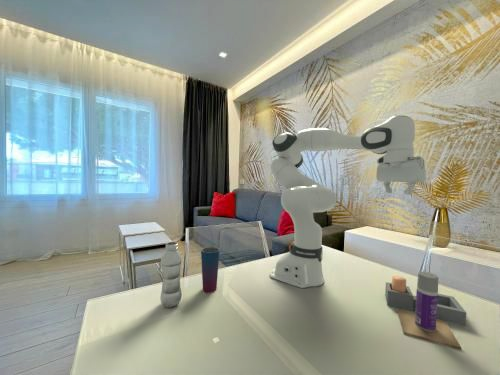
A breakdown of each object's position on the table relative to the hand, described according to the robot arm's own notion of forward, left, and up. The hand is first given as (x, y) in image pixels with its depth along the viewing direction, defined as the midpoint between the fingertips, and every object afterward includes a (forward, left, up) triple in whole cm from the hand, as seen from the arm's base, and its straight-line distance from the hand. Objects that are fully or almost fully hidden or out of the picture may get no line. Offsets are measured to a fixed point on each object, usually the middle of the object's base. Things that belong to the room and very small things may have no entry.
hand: (397, 193), depth 87 cm
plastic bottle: (-67, -51, -37) cm, 92 cm away
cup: (-62, -37, -37) cm, 81 cm away
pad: (+5, -25, -37) cm, 45 cm away
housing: (+6, -13, -37) cm, 40 cm away
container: (+5, -25, -37) cm, 45 cm away
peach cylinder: (0, -13, -37) cm, 39 cm away
